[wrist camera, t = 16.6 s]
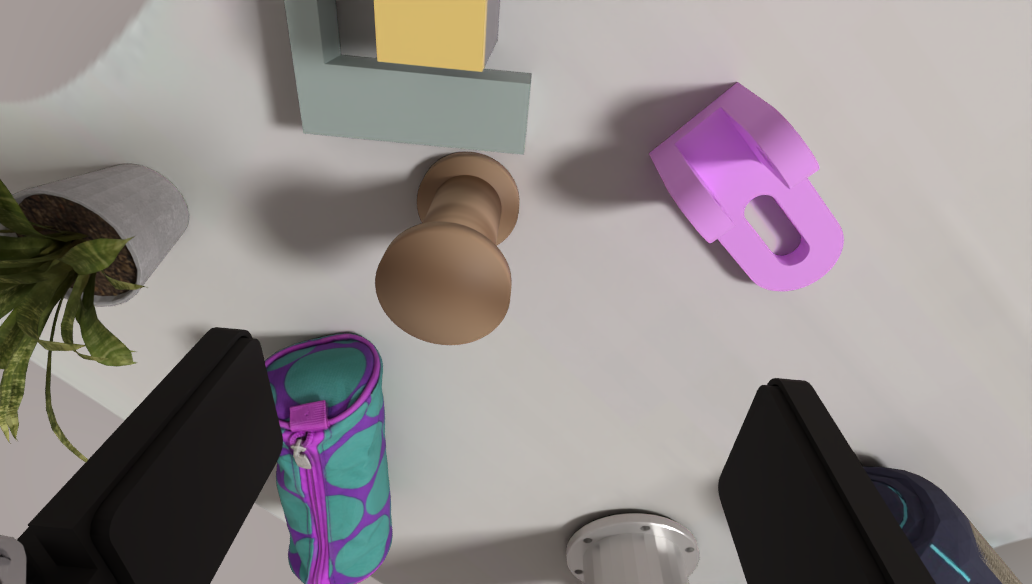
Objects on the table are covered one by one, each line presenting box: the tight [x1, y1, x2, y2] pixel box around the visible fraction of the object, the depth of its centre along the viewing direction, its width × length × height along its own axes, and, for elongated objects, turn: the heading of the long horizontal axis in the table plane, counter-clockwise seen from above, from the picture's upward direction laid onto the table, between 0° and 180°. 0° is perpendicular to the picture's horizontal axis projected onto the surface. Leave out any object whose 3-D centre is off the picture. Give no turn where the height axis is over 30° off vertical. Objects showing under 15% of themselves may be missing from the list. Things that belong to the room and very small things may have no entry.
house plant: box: [0, 164, 189, 462], centre depth 26 cm, size 14×14×16 cm
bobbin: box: [375, 152, 519, 345], centre depth 27 cm, size 6×6×10 cm
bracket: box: [649, 82, 844, 291], centre depth 28 cm, size 13×6×7 cm, turn 44°
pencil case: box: [265, 333, 392, 584], centre depth 39 cm, size 21×9×10 cm, turn 175°
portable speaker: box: [863, 467, 1022, 584], centre depth 43 cm, size 25×10×10 cm, turn 44°
